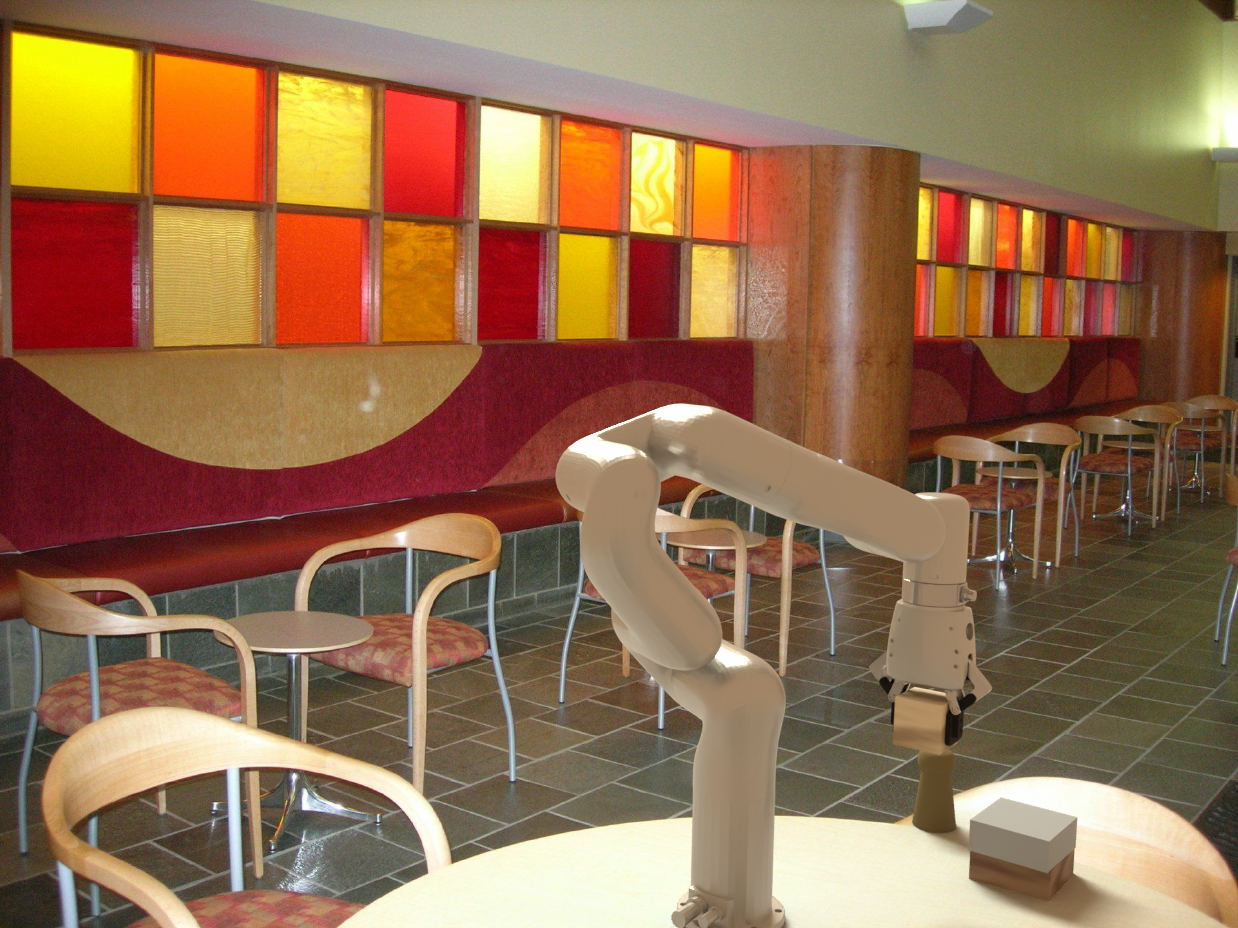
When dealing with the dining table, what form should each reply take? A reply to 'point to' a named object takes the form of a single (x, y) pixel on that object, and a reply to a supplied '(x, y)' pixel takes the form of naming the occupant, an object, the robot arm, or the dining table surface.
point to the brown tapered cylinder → (935, 793)
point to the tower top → (1023, 834)
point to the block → (921, 720)
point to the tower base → (1020, 875)
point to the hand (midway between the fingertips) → (925, 735)
